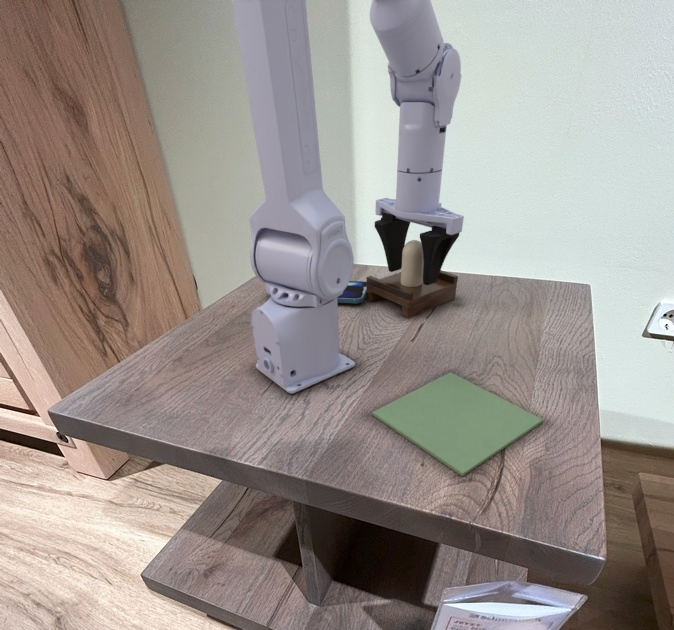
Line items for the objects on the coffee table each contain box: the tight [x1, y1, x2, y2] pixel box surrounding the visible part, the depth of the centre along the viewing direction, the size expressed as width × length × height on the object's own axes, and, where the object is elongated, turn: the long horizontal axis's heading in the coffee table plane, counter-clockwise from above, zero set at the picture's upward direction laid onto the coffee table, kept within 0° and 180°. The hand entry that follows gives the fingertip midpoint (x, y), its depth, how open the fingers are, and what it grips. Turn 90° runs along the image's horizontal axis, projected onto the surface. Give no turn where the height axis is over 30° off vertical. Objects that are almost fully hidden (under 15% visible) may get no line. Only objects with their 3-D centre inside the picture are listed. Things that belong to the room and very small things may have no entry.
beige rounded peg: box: [400, 239, 424, 287], centre depth 65 cm, size 3×3×6 cm
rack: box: [365, 269, 459, 319], centre depth 68 cm, size 10×9×4 cm
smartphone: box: [268, 280, 367, 305], centre depth 71 cm, size 7×1×15 cm
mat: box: [371, 371, 544, 477], centre depth 46 cm, size 12×12×1 cm
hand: (412, 276), depth 67 cm, fingers open, 7 cm apart
